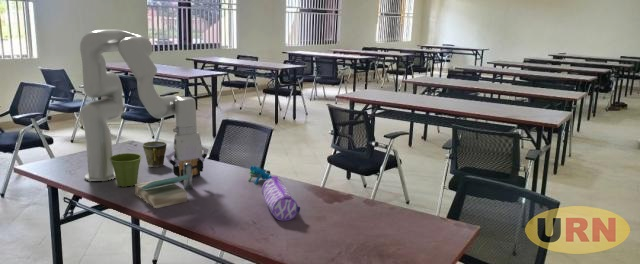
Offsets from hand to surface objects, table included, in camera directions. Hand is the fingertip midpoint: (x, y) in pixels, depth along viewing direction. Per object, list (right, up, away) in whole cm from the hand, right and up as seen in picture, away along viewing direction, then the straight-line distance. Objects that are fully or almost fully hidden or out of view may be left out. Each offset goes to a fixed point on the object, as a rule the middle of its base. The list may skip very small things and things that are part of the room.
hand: (188, 173), depth 203 cm
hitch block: (-8, -8, -10) cm, 15 cm away
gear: (+26, -5, +11) cm, 29 cm away
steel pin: (-1, -6, +1) cm, 6 cm away
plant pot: (-25, -5, +4) cm, 26 cm away
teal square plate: (-5, -3, -14) cm, 16 cm away
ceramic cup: (-22, 0, +29) cm, 36 cm away
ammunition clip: (-3, -3, +14) cm, 14 cm away
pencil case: (+36, -12, -19) cm, 43 cm away
